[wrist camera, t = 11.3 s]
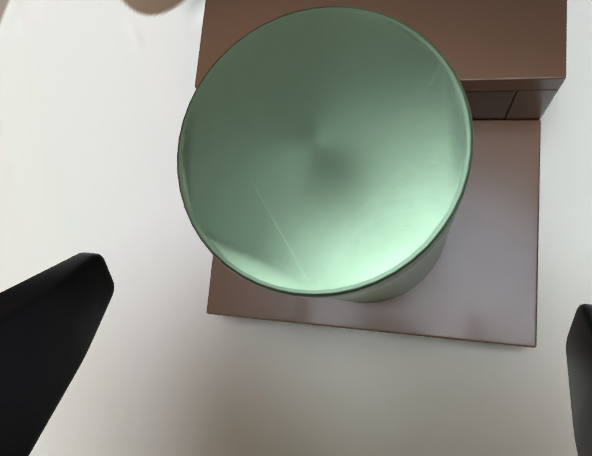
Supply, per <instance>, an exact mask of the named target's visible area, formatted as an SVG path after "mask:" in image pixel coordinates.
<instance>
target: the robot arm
mask: <svg viewBox="0 0 592 456" xmlns="http://www.w3.org/2000/svg"><path fill="white" fill-rule="evenodd" d="M113 292H114V282H113V280H112V277H111V275H110V272H109V270H108V267H107V265H106V262H105V260H104V258H103V257H102V256H101V255H99V254H95V253H79V254H77V255H75V256H73V257H71V258H69V259H67V260H65V261H63V262H61V263H59V264H57V265H55V266H53V267H51V268H49V269H47V270H45V271H43V272H41V273H39V274H37V275H35V276H33V277H31V278H29V279H27V280H25V281H23V282H21V283H19V284H17V285H15V286H13V287H11V288H9V289H7V290H5V291H3V292H1V293H0V456H29V454H30V453H31V451H32V449H33V447H34V446H35V444H36V442H37V440H38V439H39V437H40V435H41V433H42V432H43V430H44V428H45V426H46V425H47V423H48V421H49V419H50V418H51V416H52V414H53V412H54V411H55V409H56V407H57V405H58V404H59V402H60V400H61V398H62V397H63V395H64V393H65V391H66V390H67V388H68V386H69V384H70V383H71V381H72V379H73V377H74V375H75V374H76V372H77V370H78V368H79V367H80V365H81V363H82V361H83V359H84V357H85V355H86V353H87V351H88V349H89V347H90V345H91V343H92V340H93V338H94V336H95V334H96V331H97V329H98V327H99V325H100V322H101V320H102V318H103V316H104V313H105V311H106V309H107V307H108V304H109V302H110V300H111V298H112V295H113ZM566 355H567V366H568V376H569V387H570V397H571V408H572V418H573V428H574V436H575V442H576V447H577V452H578V456H592V305H590V304H582V305H580V306H579V307H578V309H577V311H576V314H575V317H574V319H573V322H572V325H571V328H570V331H569V334H568V337H567V342H566Z"/></svg>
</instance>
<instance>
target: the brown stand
mask: <svg viewBox="0 0 592 456" xmlns="http://www.w3.org/2000/svg"><path fill="white" fill-rule="evenodd" d="M326 6H349V7H356V8H363V9H369V10H372V11H376V12H379V13H382V14H386V15H388V16H390V17H393V18H395V19H397V20H399V21H401V22H404V23H405V24H407V25H408V26H410V27H412V28H413V29H415V30H416V31H418V32H419V33H421V34H422V35H423V36H424V37H425V38H427V39H428V40H429V41H430V42H431V43H432V44H434V45H435V46H436V47H437V49H438V50H439V51H440V52H441V53H442V54H443V55H444V57H445V58H446V59H447V60H448V62H449V63H450V65H451V66H452V68H453V69H454V71H455V72H456V74H457V76H458V78H459V80H460V82H461V84H462V86H463V89H464V91H465V93H466V96H467V100H468V103H469V107H470V110H471V114H472V119H473V118H499V120H472V122H473V129H474V154H473V161H472V167H471V173H470V177H469V180H468V183H467V187H466V190H465V193H464V196H463V199H462V202H461V204H460V206H459V208H458V210H457V212H456V215H455V217H454V219H453V221H452V223H451V226H450V229H449V232H448V235H447V238H446V241H445V244H444V247H443V250H442V252H441V255H440V257H439V259H438V261H437V262H436V264H435V265H434V267H433V269H432V270H431V271H430V272H429V273H428V275H427V276H426V277H425V278H424V279H423V280H422V281H421V282H419V283H418V284H417V285H416V286H414V287H413V288H411V289H410V290H409V291H407V292H405V293H403V294H401V295H399V296H397V297H394V298H391V299H388V300H383V301H378V302H367V303H364V302H352V301H345V300H337V299H330V298H307V297H297V296H291V295H286V294H281V293H276V292H273V291H270V290H268V289H265V288H262V287H259V286H257V285H255V284H253V283H251V282H249V281H247V280H245V279H243V278H241V277H240V276H238V275H237V274H235V273H234V272H233V271H231V270H230V269H228V268H227V267H226V266H224V265H223V264H222V263H221V262H220V261H219V260H218V259H217V258H216V257H215V256H214V255H213V262H212V270H211V279H210V288H209V296H208V305H207V313H208V314H215V315H225V316H235V317H244V318H254V319H263V320H273V321H283V322H292V323H302V324H311V325H321V326H331V327H340V328H350V329H360V330H369V331H379V332H388V333H398V334H408V335H417V336H427V337H436V338H446V339H456V340H465V341H475V342H484V343H494V344H504V345H513V346H523V347H532V348H534V347H536V336H537V285H538V234H539V183H540V133H541V121H540V119H541V117H542V115H543V114H544V112H545V110H546V109H547V107H548V106H549V104H550V102H551V101H552V99H553V97H554V96H555V94H556V93H557V91H558V89H559V88H560V86H561V85H562V83H563V82H564V80H565V78H566V31H567V0H206V3H205V11H204V19H203V26H202V34H201V42H200V50H199V58H198V66H197V74H196V82H195V88H196V89H197V87H198V86H199V84H200V83H201V81H202V79H203V78H204V76H205V75H206V73H207V72H208V71H209V69H210V68H211V67H212V66H213V65H214V63H215V62H216V61H217V60H218V58H220V57H221V56H222V55H223V54H224V53H225V52H226V51H227V50H228V49H229V48H230V47H231V46H232V45H233V44H234V43H236V42H237V41H238V40H240V39H241V38H242V37H243V36H245V35H246V34H248V33H249V32H251V31H253V30H254V29H256V28H257V27H259V26H261V25H263V24H265V23H267V22H269V21H271V20H273V19H275V18H278V17H280V16H283V15H286V14H289V13H292V12H295V11H300V10H304V9H309V8H314V7H326Z"/></svg>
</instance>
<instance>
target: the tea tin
mask: <svg viewBox="0 0 592 456" xmlns="http://www.w3.org/2000/svg"><path fill="white" fill-rule="evenodd" d="M473 154H474V129H473V122H472V114H471V110H470V107H469V103H468V100H467V96H466V93H465V91H464V89H463V86H462V84H461V82H460V80H459V78H458V76H457V74H456V72H455V71H454V69H453V68H452V66H451V65H450V63H449V62H448V60H447V59H446V58H445V57H444V55H443V54H442V53H441V52H440V51H439V50H438V49H437V47H436V46H435V45H434V44H432V43H431V42H430V41H429V40H428V39H427V38H425V37H424V36H423V35H422V34H421V33H419V32H418V31H416V30H415V29H413V28H412V27H410V26H408V25H407V24H405V23H404V22H401V21H399V20H397V19H395V18H393V17H390V16H388V15H386V14H382V13H379V12H376V11H372V10H369V9H363V8H356V7H349V6H326V7H314V8H309V9H304V10H300V11H295V12H292V13H289V14H286V15H283V16H280V17H278V18H275V19H273V20H271V21H269V22H267V23H265V24H263V25H261V26H259V27H257V28H256V29H254V30H253V31H251V32H249V33H248V34H246V35H245V36H243V37H242V38H241V39H240V40H238V41H237V42H236V43H234V44H233V45H232V46H231V47H230V48H229V49H228V50H227V51H226V52H225V53H224V54H223V55H222V56H221V57H220V58H218V60H217V61H216V62H215V63H214V65H213V66H212V67H211V68H210V69H209V71H208V72H207V73H206V75H205V76H204V78H203V79H202V81H201V83H200V84H199V86H198V87H197V89H196V91H195V93H194V95H193V97H192V99H191V101H190V103H189V106H188V108H187V111H186V114H185V117H184V119H183V123H182V127H181V132H180V136H179V143H178V152H177V174H178V180H179V187H180V193H181V196H182V200H183V203H184V207H185V210H186V212H187V214H188V217H189V219H190V221H191V224H192V226H193V227H194V229H195V231H196V232H197V234H198V236H199V237H200V239H201V241H202V242H203V243H204V244H205V246H206V247H207V248H208V249H209V251H210V252H211V253H212V254H213V255H214V256H215V257H216V258H217V259H218V260H219V261H220V262H221V263H222V264H223V265H224V266H226V267H227V268H228V269H230V270H231V271H233V272H234V273H235V274H237V275H238V276H240V277H241V278H243V279H245V280H247V281H249V282H251V283H253V284H255V285H257V286H259V287H262V288H265V289H268V290H270V291H273V292H276V293H281V294H286V295H291V296H297V297H307V298H330V299H337V300H345V301H352V302H364V303H367V302H378V301H383V300H388V299H391V298H394V297H397V296H399V295H401V294H403V293H405V292H407V291H409V290H410V289H411V288H413V287H414V286H416V285H417V284H418V283H419V282H421V281H422V280H423V279H424V278H425V277H426V276H427V275H428V273H429V272H430V271H431V270H432V269H433V267H434V265H435V264H436V262H437V261H438V259H439V257H440V255H441V252H442V250H443V247H444V244H445V241H446V238H447V235H448V232H449V229H450V226H451V223H452V221H453V219H454V217H455V215H456V212H457V210H458V208H459V206H460V204H461V202H462V199H463V196H464V193H465V190H466V187H467V183H468V180H469V177H470V173H471V167H472V161H473Z"/></svg>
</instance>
